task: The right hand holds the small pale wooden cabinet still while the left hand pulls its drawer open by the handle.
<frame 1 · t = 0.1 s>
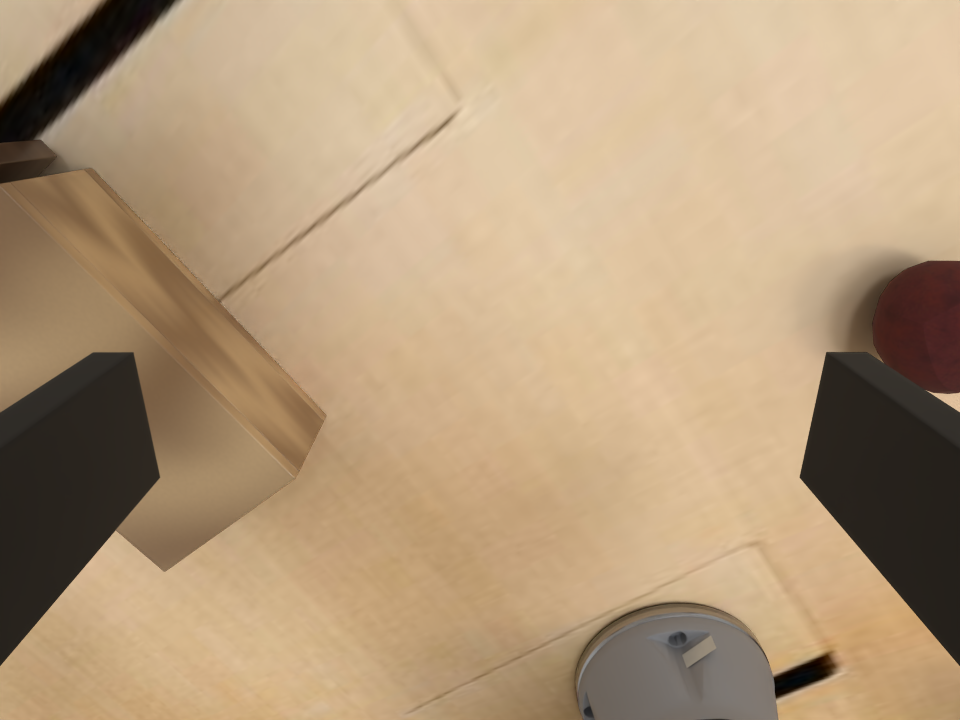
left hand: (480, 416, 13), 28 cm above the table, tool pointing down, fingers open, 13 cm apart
cabinet: (159, 349, 42), on the table
dark red ball: (905, 306, 41), on the table
drawer: (50, 298, 37), point 4 cm above the table, slide at 1.3 cm
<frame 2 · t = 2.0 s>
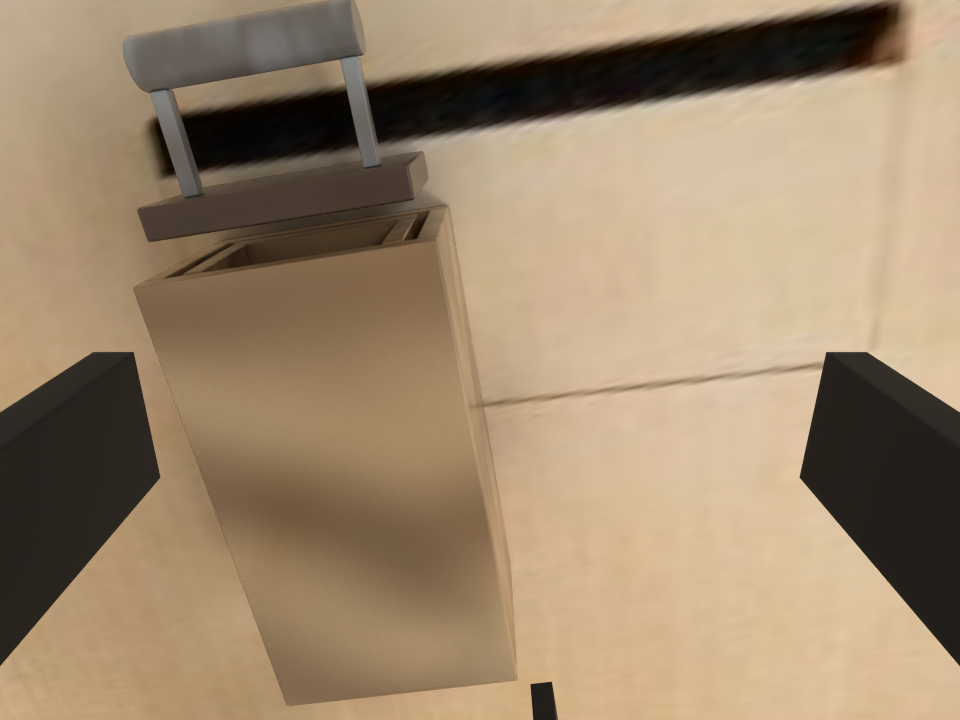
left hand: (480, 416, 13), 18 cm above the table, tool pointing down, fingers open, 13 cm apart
cabinet: (379, 419, 33), on the table
drawer: (336, 342, 27), point 4 cm above the table, slide at 1.3 cm
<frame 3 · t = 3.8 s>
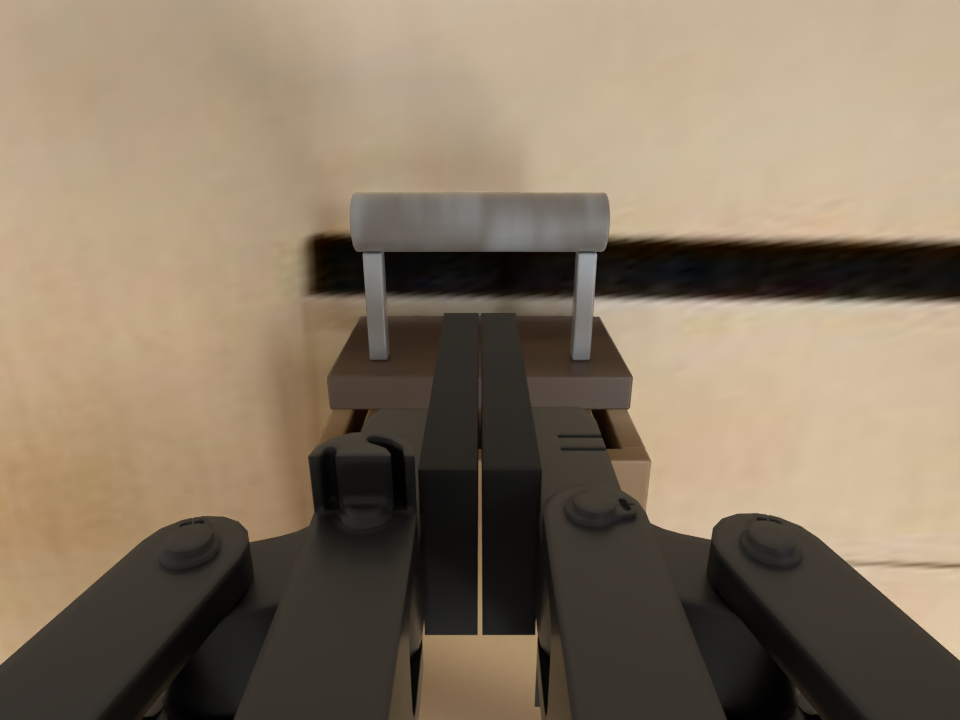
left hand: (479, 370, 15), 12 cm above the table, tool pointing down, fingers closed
cabinet: (479, 558, 31), on the table, touching right hand
drawer: (479, 506, 26), point 4 cm above the table, slide at 1.3 cm
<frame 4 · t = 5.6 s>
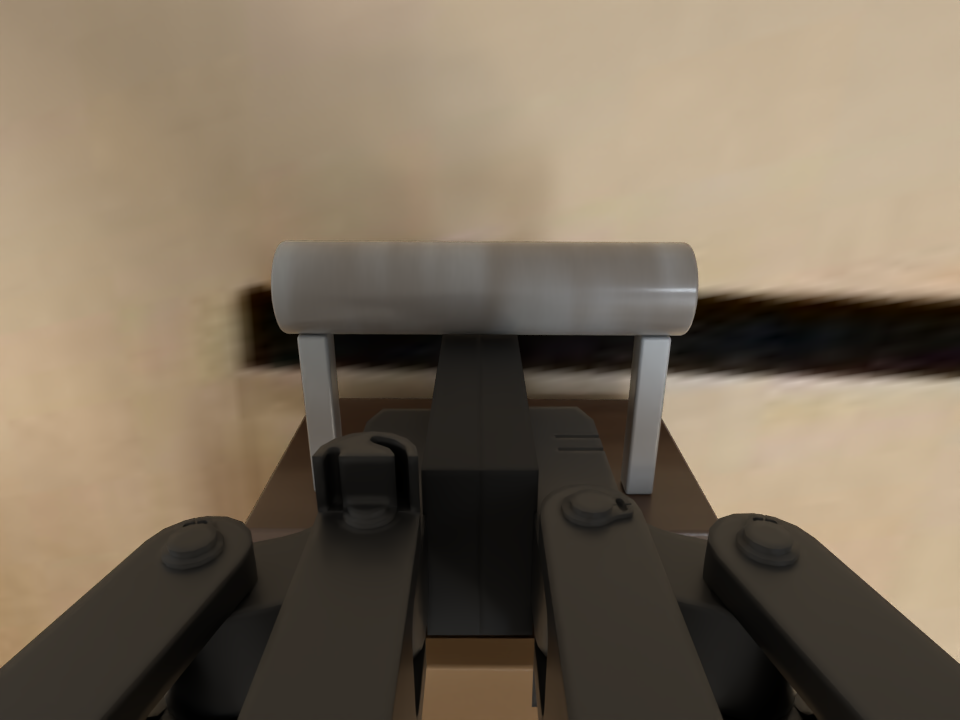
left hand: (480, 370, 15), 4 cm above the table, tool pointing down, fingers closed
cabinet: (481, 697, 24), on the table, touching right hand
drawer: (481, 666, 18), point 4 cm above the table, slide at 1.4 cm, touching left hand
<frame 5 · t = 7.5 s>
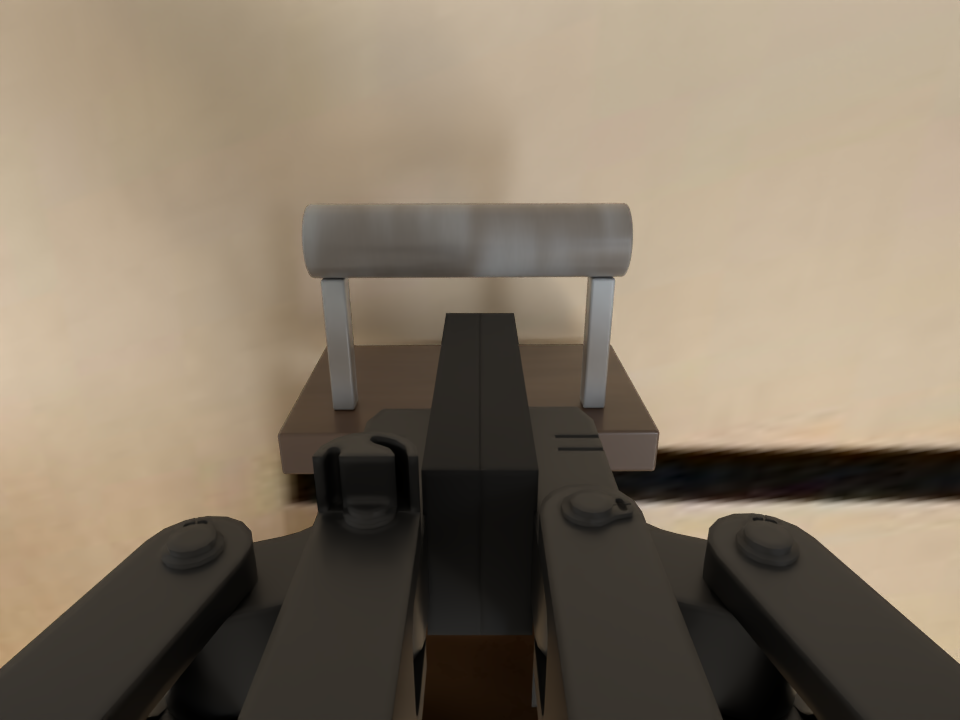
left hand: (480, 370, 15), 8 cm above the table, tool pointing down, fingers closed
drawer: (470, 569, 22), point 4 cm above the table, slide at 8.9 cm
when the right hand's fingers open (3 cm above the table, at t = 8.7 s): cabinet stays where it is, on the table.
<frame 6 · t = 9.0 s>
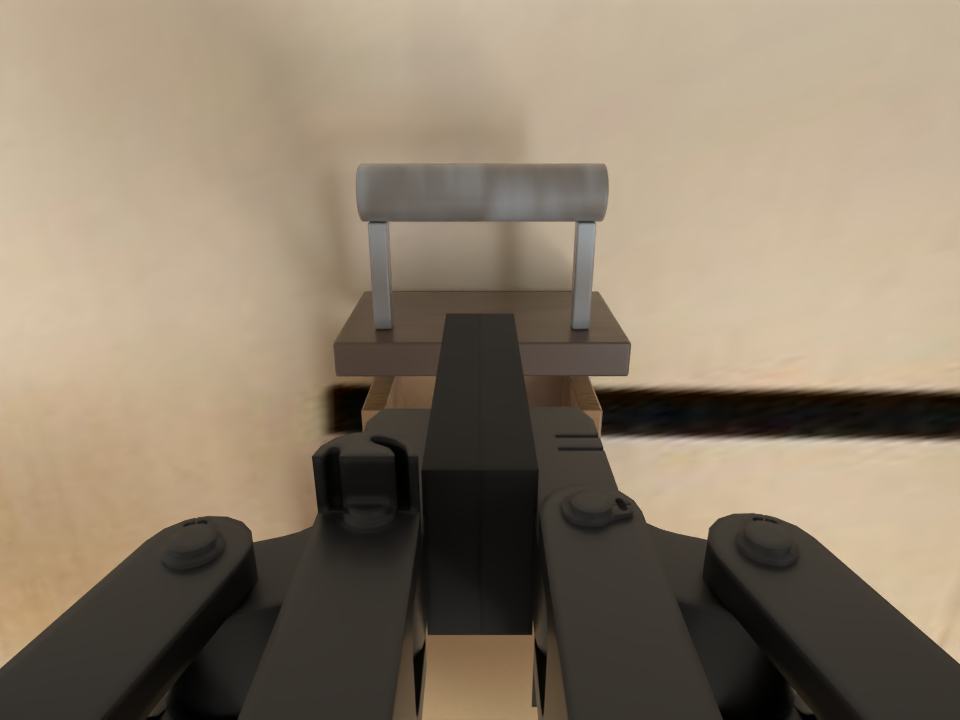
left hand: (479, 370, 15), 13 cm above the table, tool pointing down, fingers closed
cabinet: (481, 650, 35), on the table
drawer: (481, 476, 26), point 4 cm above the table, slide at 8.9 cm
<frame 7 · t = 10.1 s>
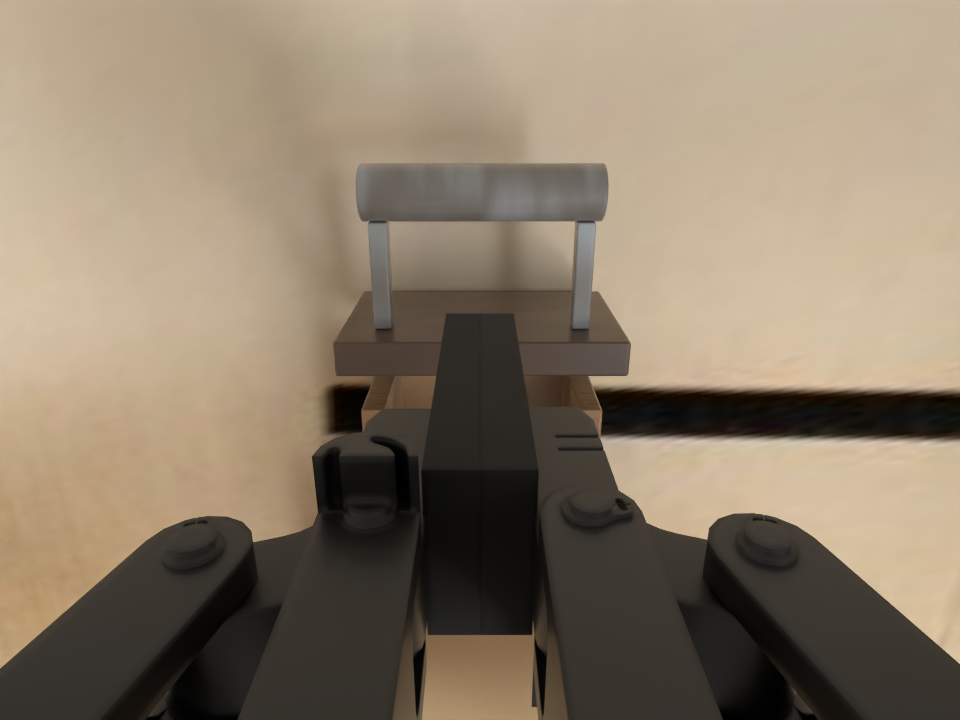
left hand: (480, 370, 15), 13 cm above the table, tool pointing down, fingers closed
cabinet: (481, 650, 35), on the table
drawer: (481, 476, 26), point 4 cm above the table, slide at 8.9 cm
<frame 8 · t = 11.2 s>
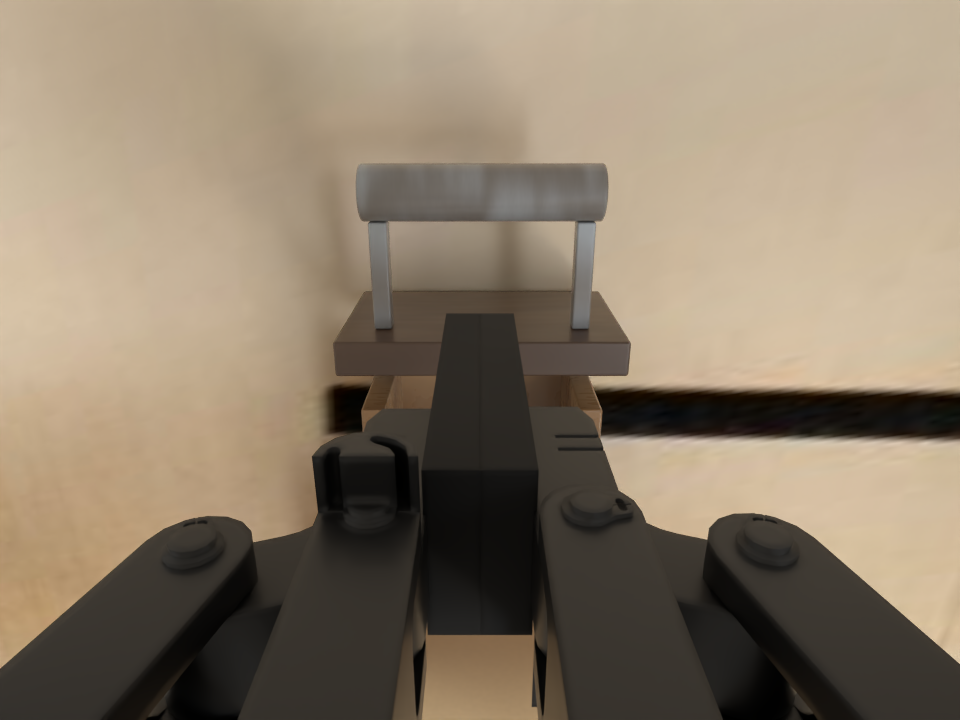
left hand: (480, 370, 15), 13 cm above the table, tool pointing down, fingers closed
cabinet: (481, 650, 35), on the table
drawer: (481, 476, 26), point 4 cm above the table, slide at 8.9 cm
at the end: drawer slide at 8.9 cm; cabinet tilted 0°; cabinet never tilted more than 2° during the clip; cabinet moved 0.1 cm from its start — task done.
